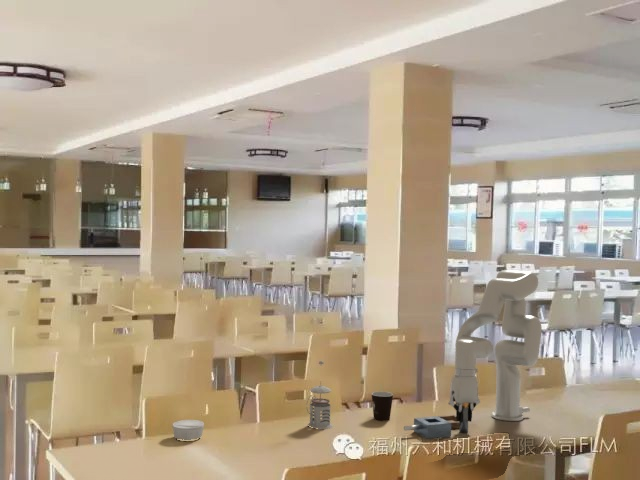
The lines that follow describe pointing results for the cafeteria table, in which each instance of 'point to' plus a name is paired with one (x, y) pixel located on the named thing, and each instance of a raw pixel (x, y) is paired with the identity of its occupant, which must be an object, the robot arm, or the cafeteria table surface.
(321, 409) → the french press
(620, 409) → the cafeteria table surface
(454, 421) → the tray
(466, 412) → the orange grey cylinder
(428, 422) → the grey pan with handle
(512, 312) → the robot arm
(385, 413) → the coffee mug
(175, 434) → the ramekin
